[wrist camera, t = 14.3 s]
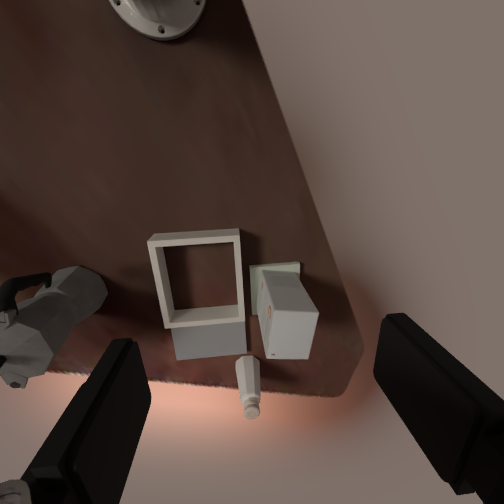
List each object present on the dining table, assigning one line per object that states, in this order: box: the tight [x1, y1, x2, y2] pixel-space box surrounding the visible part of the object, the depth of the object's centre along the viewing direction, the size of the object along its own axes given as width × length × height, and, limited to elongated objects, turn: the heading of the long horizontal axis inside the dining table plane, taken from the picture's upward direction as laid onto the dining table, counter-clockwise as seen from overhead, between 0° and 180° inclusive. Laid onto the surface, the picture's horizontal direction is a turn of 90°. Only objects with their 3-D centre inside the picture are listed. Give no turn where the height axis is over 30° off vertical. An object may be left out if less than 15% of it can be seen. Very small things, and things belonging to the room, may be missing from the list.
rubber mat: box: [249, 262, 300, 315], centre depth 46 cm, size 10×9×1 cm
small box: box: [256, 270, 319, 359], centre depth 40 cm, size 8×6×13 cm
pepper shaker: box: [236, 355, 260, 419], centre depth 48 cm, size 5×5×11 cm
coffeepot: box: [0, 266, 108, 388], centre depth 35 cm, size 15×9×18 cm, turn 169°
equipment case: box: [147, 228, 247, 360], centre depth 44 cm, size 26×14×4 cm, turn 3°
